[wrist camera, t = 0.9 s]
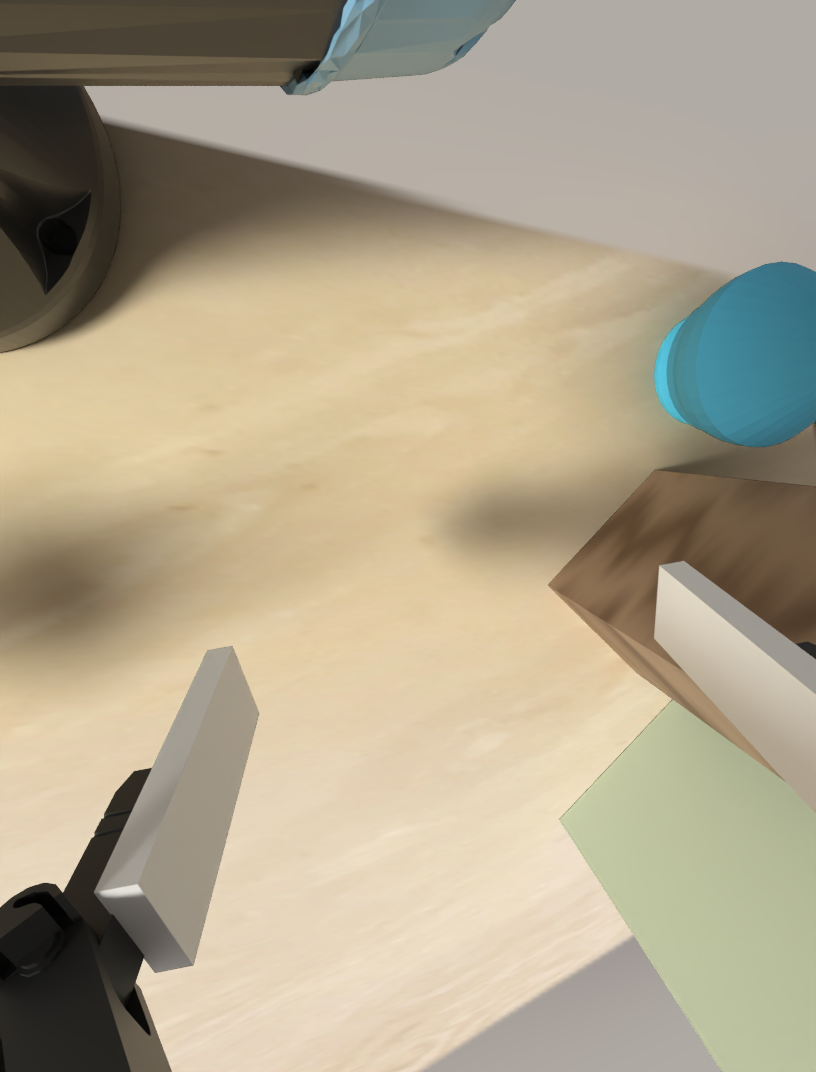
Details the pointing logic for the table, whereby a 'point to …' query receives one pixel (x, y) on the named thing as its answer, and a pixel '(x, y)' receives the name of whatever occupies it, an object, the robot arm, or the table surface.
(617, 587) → the post
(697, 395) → the perfume bottle
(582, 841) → the pale green rectangular block
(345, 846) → the table surface
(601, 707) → the table surface
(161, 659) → the table surface
